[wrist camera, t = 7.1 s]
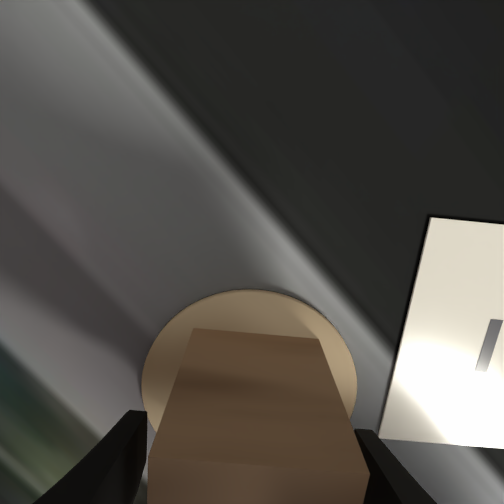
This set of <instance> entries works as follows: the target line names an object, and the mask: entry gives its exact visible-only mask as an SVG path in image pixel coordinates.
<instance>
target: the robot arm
mask: <svg viewBox="0 0 504 504" xmlns="http://www.w3.org/2000/svg"><path fill="white" fill-rule="evenodd" d="M354 433H355V436H356V438H357V441H358V444H359V446H360V449H361V452H362V454H363V457H364V459H365V462H366V465H367V467H368V470H369V473H370V476H369V480H368V484H367V489H366V493H365V497H364V501H363V504H437V503H436V502H435V501H434V500H433V499H432V498H431V497H430V496H429V495H428V494H427V492H426V491H425V490H424V489H423V488H422V487H421V486H420V485H419V484H418V483H417V482H416V480H415V479H414V478H413V477H412V476H411V475H410V474H409V473H408V471H407V470H406V469H405V468H404V467H403V466H402V464H401V463H400V462H399V461H398V460H397V459H396V457H395V456H394V455H393V454H392V453H391V452H390V450H389V449H388V448H387V447H386V446H385V444H384V443H383V442H382V441H381V440H380V439H379V437H378V436H377V435H376V434H375V433H374V432H373V430H365V429H355V431H354ZM146 454H147V411H136V410H129V411H128V412H126V414H125V415H124V416H123V417H122V418H121V419H120V420H119V421H118V422H117V424H116V425H115V426H114V427H113V428H112V429H111V430H110V431H109V432H108V433H107V434H106V435H105V436H104V438H103V439H102V440H101V441H100V442H99V443H98V444H97V445H96V446H95V447H94V448H93V449H92V450H91V451H90V452H89V453H88V454H87V455H86V456H85V457H84V458H83V459H82V460H81V461H80V462H79V463H78V464H77V465H76V466H74V467H73V468H72V469H71V470H70V471H69V472H68V473H67V474H66V475H65V476H64V477H63V478H62V479H60V480H59V481H58V482H57V483H56V484H55V485H54V486H53V487H52V488H50V489H49V490H48V491H47V492H46V493H45V494H43V495H42V496H41V497H40V498H39V499H38V500H36V501H35V502H34V503H33V504H133V502H134V499H135V496H136V494H137V491H138V487H139V484H140V480H141V477H142V473H143V470H144V466H145V463H146Z"/></svg>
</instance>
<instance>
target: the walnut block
mask: <svg viewBox="0 0 504 504" xmlns="http://www.w3.org/2000/svg"><path fill="white" fill-rule="evenodd" d="M369 476H370V473H369V470H368V467H367V465H366V462H365V459H364V457H363V454H362V452H361V449H360V446H359V444H358V441H357V438H356V436H355V433H354V430H353V428H352V425H351V423H350V420H349V417H348V415H347V412H346V409H345V407H344V404H343V402H342V399H341V396H340V394H339V391H338V388H337V386H336V383H335V380H334V378H333V375H332V373H331V370H330V367H329V365H328V362H327V359H326V357H325V354H324V351H323V349H322V346H321V344H320V341H319V339H314V338H303V337H292V336H280V335H269V334H257V333H246V332H235V331H223V330H212V329H200V328H193V331H192V333H191V336H190V339H189V342H188V345H187V348H186V350H185V353H184V356H183V359H182V362H181V365H180V368H179V370H178V373H177V376H176V379H175V382H174V385H173V388H172V390H171V393H170V396H169V399H168V402H167V405H166V407H165V410H164V413H163V416H162V419H161V422H160V425H159V427H158V430H157V433H156V436H155V439H154V442H153V445H152V447H151V450H150V453H149V456H148V490H147V504H363V501H364V497H365V493H366V489H367V484H368V480H369Z"/></svg>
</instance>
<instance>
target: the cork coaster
mask: <svg viewBox="0 0 504 504" xmlns="http://www.w3.org/2000/svg"><path fill="white" fill-rule="evenodd" d="M193 328H200V329H212V330H223V331H235V332H246V333H257V334H269V335H280V336H292V337H303V338H314V339H319V341H320V344H321V346H322V349H323V351H324V354H325V357H326V359H327V362H328V365H329V367H330V370H331V373H332V375H333V378H334V380H335V383H336V386H337V388H338V391H339V394H340V396H341V399H342V402H343V404H344V407H345V409H346V412H347V415H348V417H349V420H350V417H351V415H352V412H353V409H354V406H355V402H356V394H357V377H356V371H355V366H354V363H353V360H352V357H351V354H350V352H349V350H348V348H347V346H346V344H345V342H344V340H343V338H342V337H341V335H340V334H339V333H338V331H337V330H336V328H335V327H334V326H333V325H332V324H331V323H330V322H329V321H328V320H327V319H326V318H325V317H324V316H323V315H322V314H320V313H319V312H318V311H317V310H315V309H314V308H312V307H310V306H309V305H307V304H305V303H304V302H302V301H300V300H297V299H295V298H293V297H290V296H287V295H284V294H280V293H277V292H272V291H265V290H253V289H243V290H232V291H227V292H222V293H218V294H214V295H211V296H209V297H206V298H203V299H201V300H199V301H197V302H195V303H193V304H191V305H189V306H188V307H186V308H185V309H183V310H182V311H181V312H179V313H178V314H177V315H176V316H174V317H173V318H172V319H171V320H170V321H169V322H168V323H167V324H166V326H165V327H164V328H163V329H162V330H161V332H160V333H159V335H158V336H157V338H156V339H155V341H154V343H153V345H152V346H151V348H150V351H149V353H148V355H147V358H146V360H145V364H144V368H143V372H142V383H141V387H142V399H143V403H144V408H145V411H147V416H148V419H149V421H150V423H151V425H152V426H153V428H154V430H155V432H156V433H157V430H158V427H159V425H160V422H161V419H162V416H163V413H164V410H165V407H166V405H167V402H168V399H169V396H170V393H171V390H172V388H173V385H174V382H175V379H176V376H177V373H178V370H179V368H180V365H181V362H182V359H183V356H184V353H185V350H186V348H187V345H188V342H189V339H190V336H191V333H192V331H193Z"/></svg>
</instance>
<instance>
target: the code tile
mask: <svg viewBox="0 0 504 504" xmlns="http://www.w3.org/2000/svg"><path fill="white" fill-rule="evenodd" d="M378 437H379V438H380V439H392V440H404V441H416V442H429V443H441V444H453V445H465V446H477V447H490V448H502V449H504V225H503V224H493V223H483V222H473V221H463V220H453V219H443V218H433V217H430V220H429V224H428V228H427V232H426V237H425V241H424V245H423V249H422V253H421V258H420V262H419V266H418V270H417V274H416V278H415V283H414V287H413V291H412V295H411V299H410V304H409V308H408V312H407V316H406V320H405V324H404V329H403V333H402V337H401V341H400V345H399V350H398V354H397V358H396V362H395V366H394V370H393V375H392V379H391V383H390V387H389V391H388V396H387V400H386V404H385V408H384V412H383V416H382V421H381V425H380V429H379V433H378Z"/></svg>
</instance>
